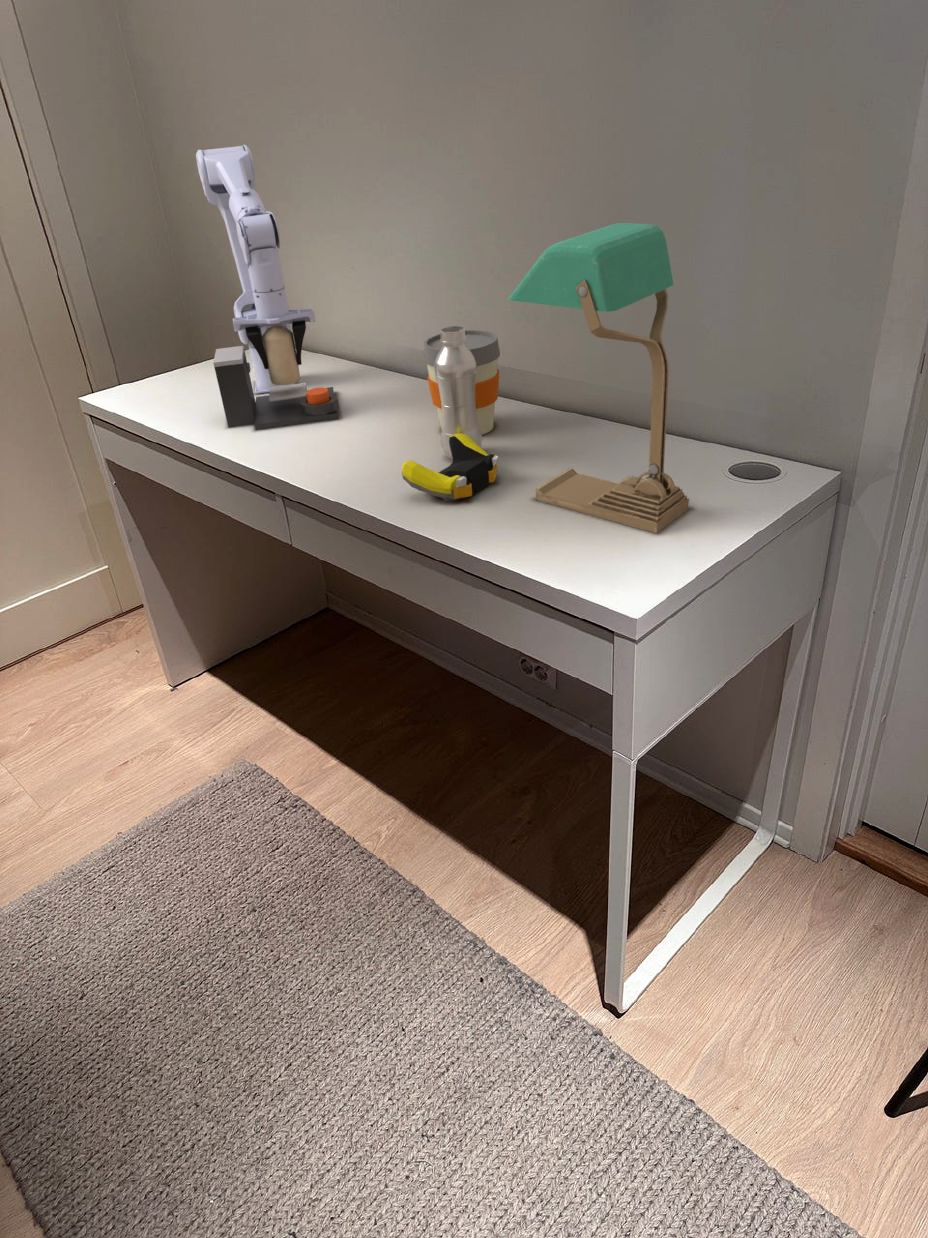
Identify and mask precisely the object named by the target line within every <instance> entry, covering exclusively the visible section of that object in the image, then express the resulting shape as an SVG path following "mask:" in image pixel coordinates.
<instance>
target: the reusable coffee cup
mask: <svg viewBox="0 0 928 1238" xmlns="http://www.w3.org/2000/svg"><path fill="white" fill-rule="evenodd" d="M465 337H466V341H465V342H464V344H465V345H466V347H467V348H468V349H469V350H470V352H471V353H472V354H473V356H474V358H475V361H476V380H475V405H476V412H477V418H478V425H479V427H480V430H481V435H482V436H483V435H486V434H488V433H489V432H490V431H492V430H493V428H494V423H495V422H494V420H495V408H496V405H495V404H496V402H497V401H498V398H499V386H500V369H498V365H499V364H498V363H499V357H500V356H501V352H500V351H501V350H500V346H499V345H500V344H499V338H498V336H497V334H496V333H494V332H491V331H488V330H481V329H465ZM440 339H441V334H440V333H437V334H435V335H432V336H430V337H428V338H427V339H425V340H424V342H423V343H424V344H423V362H424V363H425V364H426V367H427V372H428V375H427V377H426V378H427V382H428V387H429V391H430V397H431V400H432V404H433V405H434V406H435V407H436V411H437V415H438V421H439V425H440V429H441V431H442V406H441V400H440V393H439V388H438V384H437V380H436V375H435V371H434V363H435V359H436V357H437V355H438V353H439V351H440V350H441V348H442V346H443V344H441V343H440Z"/></svg>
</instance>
